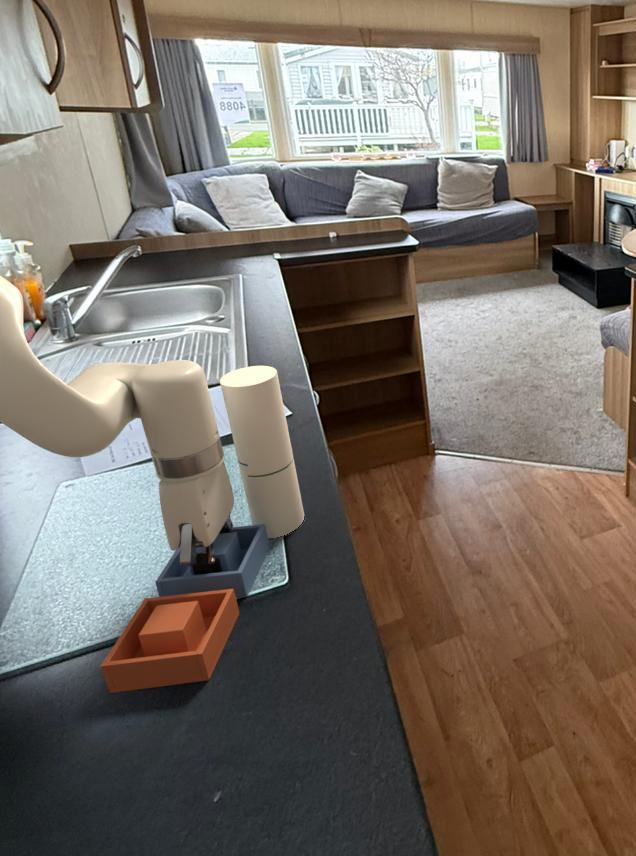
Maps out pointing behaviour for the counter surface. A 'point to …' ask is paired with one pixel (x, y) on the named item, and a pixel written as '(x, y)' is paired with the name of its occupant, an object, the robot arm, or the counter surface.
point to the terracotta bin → (139, 672)
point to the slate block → (225, 551)
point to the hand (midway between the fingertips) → (218, 569)
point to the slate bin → (183, 582)
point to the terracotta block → (173, 629)
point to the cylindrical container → (263, 448)
